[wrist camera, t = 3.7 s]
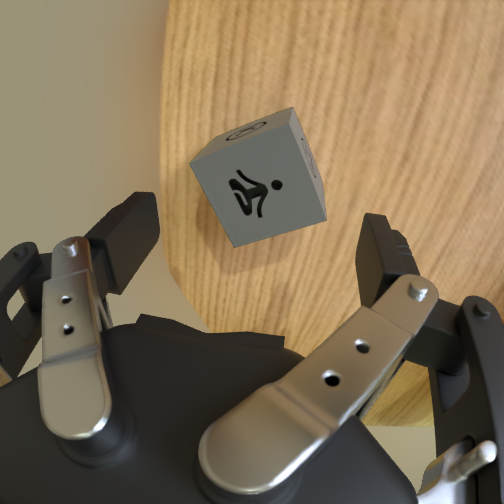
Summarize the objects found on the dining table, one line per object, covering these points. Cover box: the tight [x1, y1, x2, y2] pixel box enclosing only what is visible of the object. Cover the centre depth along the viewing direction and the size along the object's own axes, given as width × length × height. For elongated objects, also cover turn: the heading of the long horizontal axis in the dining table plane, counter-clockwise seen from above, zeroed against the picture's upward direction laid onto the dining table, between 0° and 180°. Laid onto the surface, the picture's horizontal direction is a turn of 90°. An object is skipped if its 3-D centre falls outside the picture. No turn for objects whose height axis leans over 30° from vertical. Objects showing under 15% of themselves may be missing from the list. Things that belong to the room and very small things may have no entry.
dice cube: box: [189, 107, 327, 248], centre depth 17 cm, size 5×5×5 cm
